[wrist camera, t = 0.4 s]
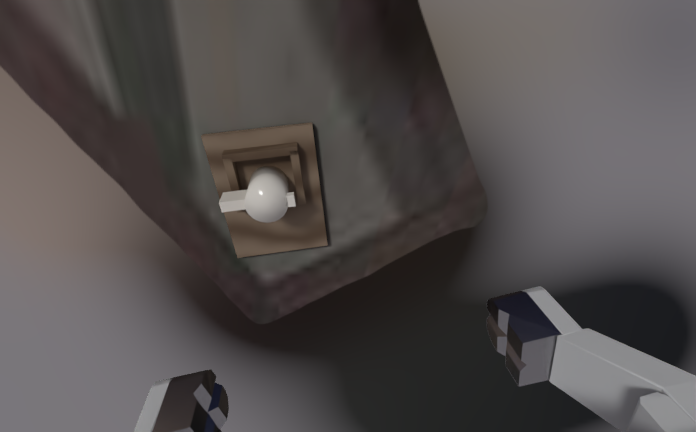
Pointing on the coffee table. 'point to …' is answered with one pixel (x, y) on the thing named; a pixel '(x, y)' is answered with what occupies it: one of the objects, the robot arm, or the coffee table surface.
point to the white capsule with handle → (262, 196)
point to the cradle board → (302, 172)
